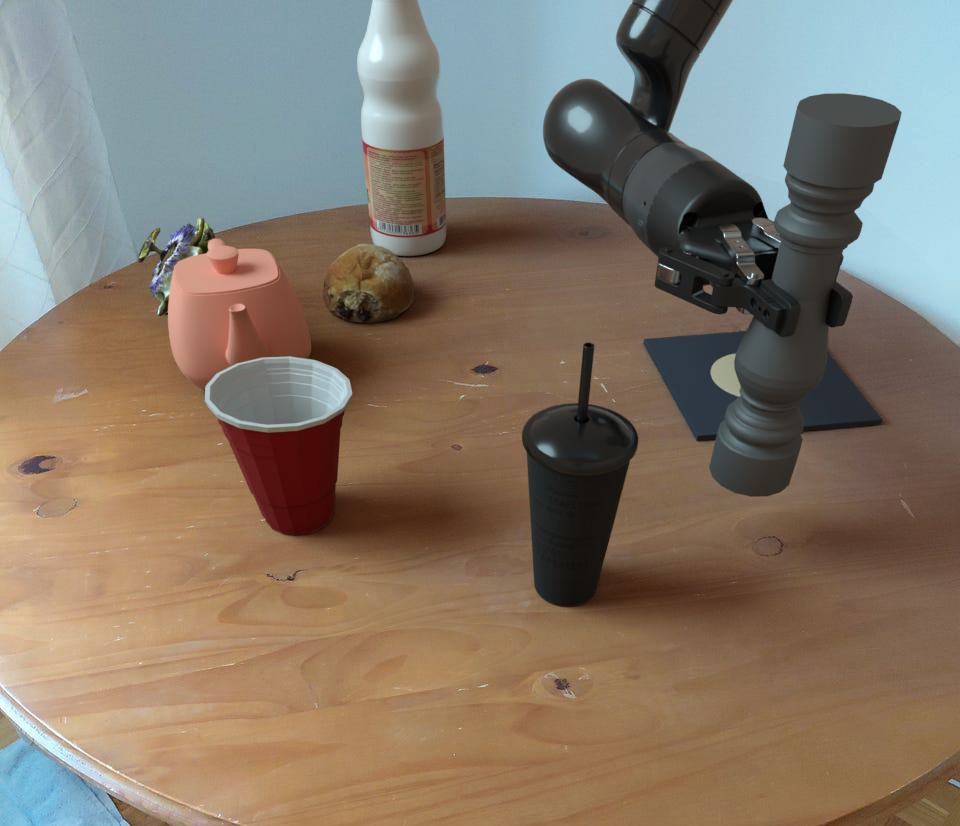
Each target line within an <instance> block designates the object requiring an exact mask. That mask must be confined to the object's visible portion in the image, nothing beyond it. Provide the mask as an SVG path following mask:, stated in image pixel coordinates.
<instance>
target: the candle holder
mask: <svg viewBox="0 0 960 826" xmlns="http://www.w3.org/2000/svg"><path fill="white" fill-rule="evenodd" d="M901 117H902V111H901V110H900V109H899V108H898V107H897V106H896V105H894V104H893V103H890V102H887V101H885V100H883V99H880V98H876V97H872V96H867V95H863V94H853V93H845V92H844V93H835V92H834V93H833V92H832V93H821V94H814V95H809V96H807V97H805V98H803V99H800V100H799V102H798V103H797V106H796V110H795V113H794V117H793V118H794V119H793V122H792V127H791V131H790V137H789V140H788V144H787V149H786V151H785V155H784V156H785V157H784V161H783V166H782V167H783V169H784V170H785V171H786V174H785V177H784V183H785V185H786V188H787V191H788V192H787V193H788V194H787V197H788V199H789V201H790V203H788V204H787V205H785V206H783V207H781V208H780V209H778V210H777V211H776V214H775V217H774V220H773V221H774V228H775V229H776V231H777V233H778V234H779V238H780V240H781V243H780V247H779V251H778V255H777V259H776V263H775V267H774V271H773V275H772V279H771V280H772V281H773V282H774V284H776V285H777V286H779V287H780V288H781V289H783V290H784V291H786V292H787V293H788V294H789V295H790V296H792V297H793V298H794V299H795V300H796V301H798V302H799V304H800V307H801V312H800V316H799V319H798V323H797V327H796V330H795V333H794V334H793V335H791V336H786V337H780V336H779V335H778V334H777V333H775V332H774V331H772V330H770V329H768V328H766V327H765V326H764V325H763V324H762V323H761V322H760V321H759V320H757V319H756V318H755V317H754V316H752V319H751V320H750V323H749V325H748V327H747V329H746V330H745V331H746V333H745V335H744V336H743V338H742V340H741V342H740V344H739V347H738V350H737V352H736V356H735V360H734V367H735V372H736V375H737V378H738V381H739V383H740V386H741V387H740V390H739V392H740V394H741V396H740V397H738V398H737V399H736V400H735V401H734V402H732V403H731V404H730V405H729V406H728V407H727V410H726V413H725V416H724V419H725V420H724V421H722V422H721V423H720V426H719V429H718V432H717V436H716V439H714V445H713V449H712V452H711V453H712V454H711V458H710V463H709V467H708V468H709V472H710V475H711V478H713V480H714V481H715V482H716V483H718V484H719V485H720V486H721V487H722V488H724V489H726V490H728V491H730V492H732V493H734V494H738V495H741V496H742V495H743V496H746V497H750V498H751V497H755V498H756V497H757V498H758V497H770V496H773V495H776V494H780V493H782V492H783V491H784V490H785V489H786V488H787V487H789V486H790V484H791V480H792V477H793V474H794V471H795V467H796V464H797V462H798V458H799V456H800V451H801V448H802V445H803V437H802V433H803V432H804V431H803V427H804V423H805V421H804V418H803V416H802V414H801V411H800V409H799V407H798V406H799V405H800V404H802V401H803V398H804V397H805V396H806V395H807V394H809V393H810V392H811V391H812V390H813V389H814V388H815V387H816V386H817V385H818V384H819V383H820V381H821V380H822V378H823V375H824V372H825V368H826V364H827V353H829V331H830V327H829V326H828V325H827V324H826V318H827V311H828V303H829V296H830V292H831V289H832V286H833V282H834V279H835V276H836V272H837V269H838V266H839V262H840V259H841V256H842V254H843V252H844V250H846V249H847V248H848V246H849V245H851V244H852V243H854V242H856V241H857V240H858V239H859V238H860V235H861V232H862V228H863V225H864V223H863V221H862V220H861V219H860V217H859V216H858V214H857V213H856V210H859V208H861V206H862V204H863V202H864V201H865V199H866V198H868V197H870V195H871V194H872V193H873V192H874V188H875V184H876V183H878V182H879V181H881V180H882V179H883V175H884V172H885V169H886V166H887V162H888V160H889V157H890V154H891V150H892V147H893V143H894V141H895V139H896V138H895V137H896V134H897V131H898V129H899V128H898V127H899V124H900V122H901Z"/></svg>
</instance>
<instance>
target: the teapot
mask: <svg viewBox="0 0 960 826" xmlns="http://www.w3.org/2000/svg"><path fill="white" fill-rule="evenodd" d="M215 238H216V237H215ZM207 242H208V252H207V253H205V254H200V255H196V256H192V257H188V258H185V259H183V260H181V261H179V262H177V264H176V265H175V266H174V270H173V274H172V280H171V287H170V294H169V303H168V314H167V328H168V337H169V344H170V348H171V352H172V356H173V358H174V361H175V363H176V365H177V367H178V368H179V370H180V372H181V373H182V374H183V375H184V376H185V378H186V379H187V380H188V381H190V383H192V384H193V385H194V386H195V387H197V388H199V389H203V390H205V386H206V385H207V384H208V383H209V382H210V381H211V380H212V378H213V377H214V376H215V375H216V374H217V373H219V372H221V371H223V370H225V369H227V368H229V367H231V366H233V365H235V364H237V363H241V362H246V361H250V360H254V359H259V358H265V357H297V358H304V359H310V358H309V357H310V355H311V352H312V341H311V340H312V339H311V333H310V329H309V325H308V321H307V317H306V314H305V312H304V308H303V305H302V304H301V301H300V299H299V297H298V295H297V293H296V291H295V288H294V287H293V285H292V283H291V282H290V280H289V278H288V277H287V275H286V274H285V272H284V270H283V268H282V267H281V266H280V264H279V262H278V261H277V260H276V258H275V256H274V255H273V254H272V253H271V252H270V251H268V250H266V249H262V248H236V247H235V246H231V245H227V244H226V242H225V241H224V240H222V239H221V238H216V239H212V240H208V241H207Z"/></svg>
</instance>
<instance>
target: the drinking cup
mask: <svg viewBox="0 0 960 826" xmlns="http://www.w3.org/2000/svg"><path fill="white" fill-rule="evenodd" d="M594 355H595V344H594V343H593V342H589V341H587V342H585V343H583V344H582V355H581V365H580V377H579V378H580V379H579V387H578V388H579V389H578V390H579V391H578V398H577V399H578V400H577V402H571V403H560V404H556V405H552V406H549V407H545V408H542V409H541V410H539V411H537V412H536V413H534V414H533V415H532V416H531V417H530V418H528V420H526V422H525V424H524V426H523V428H522V433H521V442H522V446H523V448H524V450H525V452H526V461H527V462H526V465H527V483H528V498H529V499H528V500H529V501H528V502H529V516H530V517H529V518H530V533H531V552H532V568H533V586H534V588H535V591H536V593H537V595H539V597H540V598H542V599H543V601H546V602H548V603H549V604H552V605H555V606H559V607H576V606H580V605H583V604H586V603H587V602H589V601H590V600H591V599H592V598H593V597H594V596H595V594H596V592H597V589H598V585H599V581H600V578H601V574H602V570H603V566H604V562H605V558H606V556H607V555H606V554H607V551H608V547H609V543H610V540H611V536H612V532H613V528H614V524H615V521H616V516H617V513H618V508H619V505H620V500H621V497H622V494H623V490H624V485H625V482H626V477H627V474H628V470H629V467H630V462H631V460H632V459H633V457H634V456H635V455H636V454H637V451H638V447H639V435H638V431H637V429H636V427H635V426H634V424H633V423H632V422H631V421H630V420H629V419H628V417H627V418H626V417H625V416H624V415H623V414H621V413H619V412H617V411H615V410H613V409H610V408H607V407H605V406H601V405H596V404H592V403H590V393H591V386H592V385H591V384H592V375H593V374H592V373H593V365H594V364H593V363H594Z"/></svg>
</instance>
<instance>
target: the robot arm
mask: <svg viewBox="0 0 960 826" xmlns="http://www.w3.org/2000/svg"><path fill="white" fill-rule="evenodd" d="M733 2H734V0H632V1H631V3H630V4H629V6H628V7H627V9H626V12H625V13H624V15H623V17H622V19H621V21H620V23H619V25H618V28H617V30H616V34H615V43H616V47H617V49H618V51H619V52H620V54H621V55H622V56H623V58H624V60H625V61H626V62H627V63H628V65H629V66H630V68H631V70H632V72H633V76H634V82H633V88H632V94H631V97H630V101H629V102H628V101H627V100H626V99H624V98H623V97H622V96H620V95H619V94H618V93H616V92H615V91H614V90H612V89H611V88H610V87H609V86H607V85H606V84H605V83H603V82H601V81H599V80H597V79H595V78H580V79H575V80H573V81H571V82H569V83H568V84H566V85H564V86H563V87H562V88H561V89H560V90H559V91H558V92H557V93H556V94H554V96H553V97H552V99H551V101H550V102H549V105H548V106H547V108H546V110H545V113H544V118H543V123H542V139H543V145H544V148H545V150H546V152H547V155H548V157H549V158H550V159H551V161H552V163H554V164H555V165H556V166H558V167H559V168H560V169H561V170H563V171H564V172H566V173H567V174H568V175H570V176H571V178H572V177H573V178H574V179H575V180H576V181H578V182H580V183H581V184H582V185H584V186H585V187H587V188H588V189H590V190H591V191H593V192H594V193H596V194H597V195H598V196H599V197H600V198H601V199H602V200H603V201H604V202H606V204H607V205H608V206H609V207H610V209H611V210H612V211H613V212H614V213H615V214H616V215H617V216H618V217H619V218H620V219H622V221H624V222H625V223H626V224H627V225H628V226H629V227H630V228H631V229H632V230H633V232H634V234H635V236H637V238H638V239H639V240H640V242H641V243H642V244H643V245H644V246H645V247H647V248H648V249H649V250H650V252H652V253H653V254H654V256H656V257H657V263H656V272H655V279H654V287H655V288H656V289H658V290H661V292H665V293H667V294H670V295H672V296H674V297H676V298H678V299H681V300H683V301H685V302H687V303H689V304H691V305H693V306H696V307H698V308H700V309H702V310H705V311H707V312H710V313H711V314H715V315H724V314H726V313H728V309H729V308H736V310H737V311H738V313H740V314H743V315H752V317H755V318H756V319H757V320H759V321H760V322H761V323H762V324H763V325H764V326H765V327H766V328H768V329H770V330H772V331H774V332H775V333H777V334H778V335H779V336H780V337H786V336H791V335H793V334H794V333H795V330H796V327H797V323H798V319H799V316H800V312H801V307H800V304H799V302H798V301H796V300H795V299H794V298H793V297H792V296H790V295H789V294H788V293H787V292H786V291H784V290H783V289H781V288H780V287H779V286H777V285H776V284H774V282H773V281H772V280H771V279H772V275H773V271H774V267H775V263H776V259H777V255H778V251H779V247H780V243H781V240H780V238H779V234H778V233H777V231H776V229H775V228H774V220H772V219H770V218H769V216H768V214H767V212H766V211H767V210H766V209H765V205H764V203H763V199H762V197H761V195H760V194H759V192H758V190H757V189H756V188H755V187H754V186H753V185H752V184H750V183H749V182H747V181H746V180H745V179H743V178H741V177H740V176H739V175H737V174H736V173H735V172H733V171H732V170H730V169H729V168H728V167H726V166H725V165H723V164H722V163H720V162H719V161H717V159H715V158H713V157H712V156H711V155H709V154H707V153H706V152H704V151H702V150H700V149H698V148H695V147H693V146H690V145H688V144H687V143H686V142H685V141H683V140H682V139H680V138H679V137H677V136H676V135H674V134H673V133H672V132H670V130H671V127H672V124H673V121H674V118H675V115H676V113H677V110H678V108H679V104H680V102H681V99H682V97H683V93H684V91H685V87H686V84H687V82H688V79H689V76H690V74H691V72H692V70H693V68H694V66H695V64H696V63H697V61H698V59H699V58H700V56H701V54H702V53H703V52H704V50H705V49H706V47H707V46H708V43H709V42H710V40H711V38H712V37H713V35H714V34H715V32H716V31H717V28H718V27H719V25H720V23H721V21H723V18H724V17H725V15H726V14H727V12H728V10H729V9H730V7H731V6H732V3H733ZM844 257H845V256H844V254H843V253H842V256H841V259H840V262H839V266H838V269H837V272H836V276H835V279H834V282H833V286H832V289H831V292H830V296H829V303H828V311H827V318H826V324H827V325H828V326H829V328H831V329H833V328H838V327H843V326H844V325H845V324H846V323H847V322H846V321H847V318H848V316H849V313H850V309H851V306H852V302H853V298H854V296H853V294H852V292H851V291H849V289H847V288H845V286H843V285H842V284H841V283H839V282H837V280H838V276H839V272H840V269H841V266H842V265H843V261H844ZM704 286H711V288H712V291H711V293H709V292H706V291H705V289H704Z"/></svg>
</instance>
